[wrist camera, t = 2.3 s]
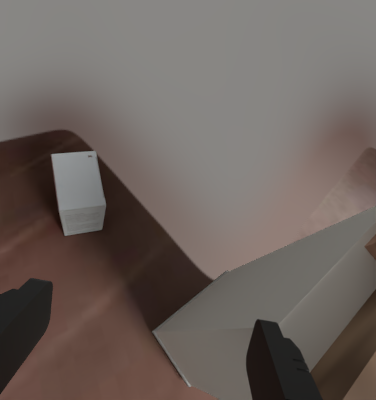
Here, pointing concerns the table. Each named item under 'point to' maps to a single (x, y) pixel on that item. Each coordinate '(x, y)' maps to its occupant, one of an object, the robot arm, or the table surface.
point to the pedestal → (273, 306)
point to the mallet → (351, 355)
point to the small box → (78, 191)
